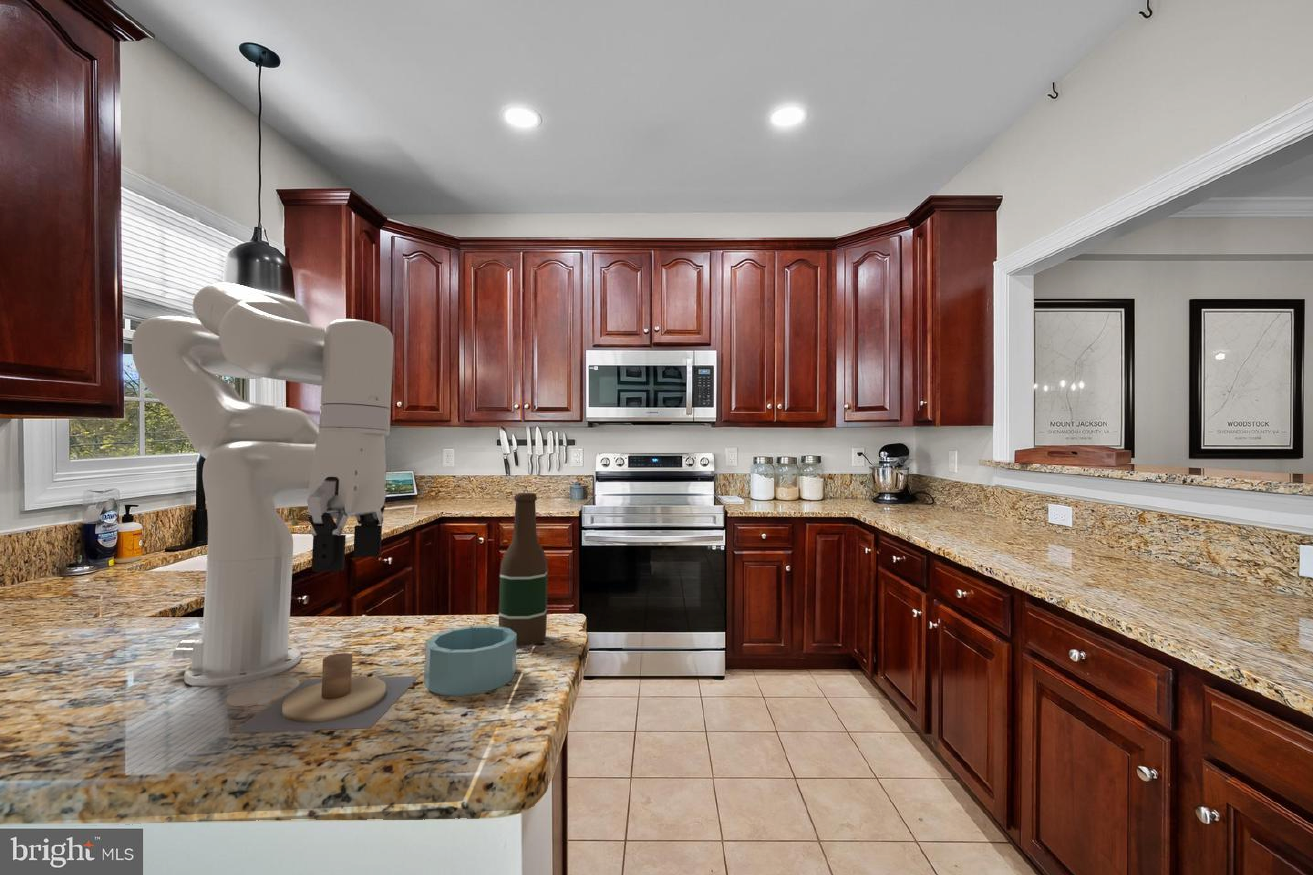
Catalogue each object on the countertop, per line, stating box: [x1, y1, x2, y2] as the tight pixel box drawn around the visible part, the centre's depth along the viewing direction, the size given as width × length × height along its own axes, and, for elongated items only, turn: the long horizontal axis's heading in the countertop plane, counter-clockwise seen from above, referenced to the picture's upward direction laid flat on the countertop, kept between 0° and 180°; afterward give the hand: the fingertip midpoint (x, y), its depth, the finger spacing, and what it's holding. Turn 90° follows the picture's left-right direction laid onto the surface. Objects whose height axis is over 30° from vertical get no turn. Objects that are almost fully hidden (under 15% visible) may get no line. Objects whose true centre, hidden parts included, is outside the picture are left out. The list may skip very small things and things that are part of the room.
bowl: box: [423, 625, 517, 697], centre depth 69 cm, size 11×11×6 cm
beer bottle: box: [498, 492, 549, 647], centre depth 86 cm, size 8×8×24 cm
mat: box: [229, 675, 420, 734], centre depth 61 cm, size 14×14×1 cm
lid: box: [282, 652, 386, 722], centre depth 62 cm, size 10×10×5 cm
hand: (348, 563), depth 63 cm, fingers open, 9 cm apart
